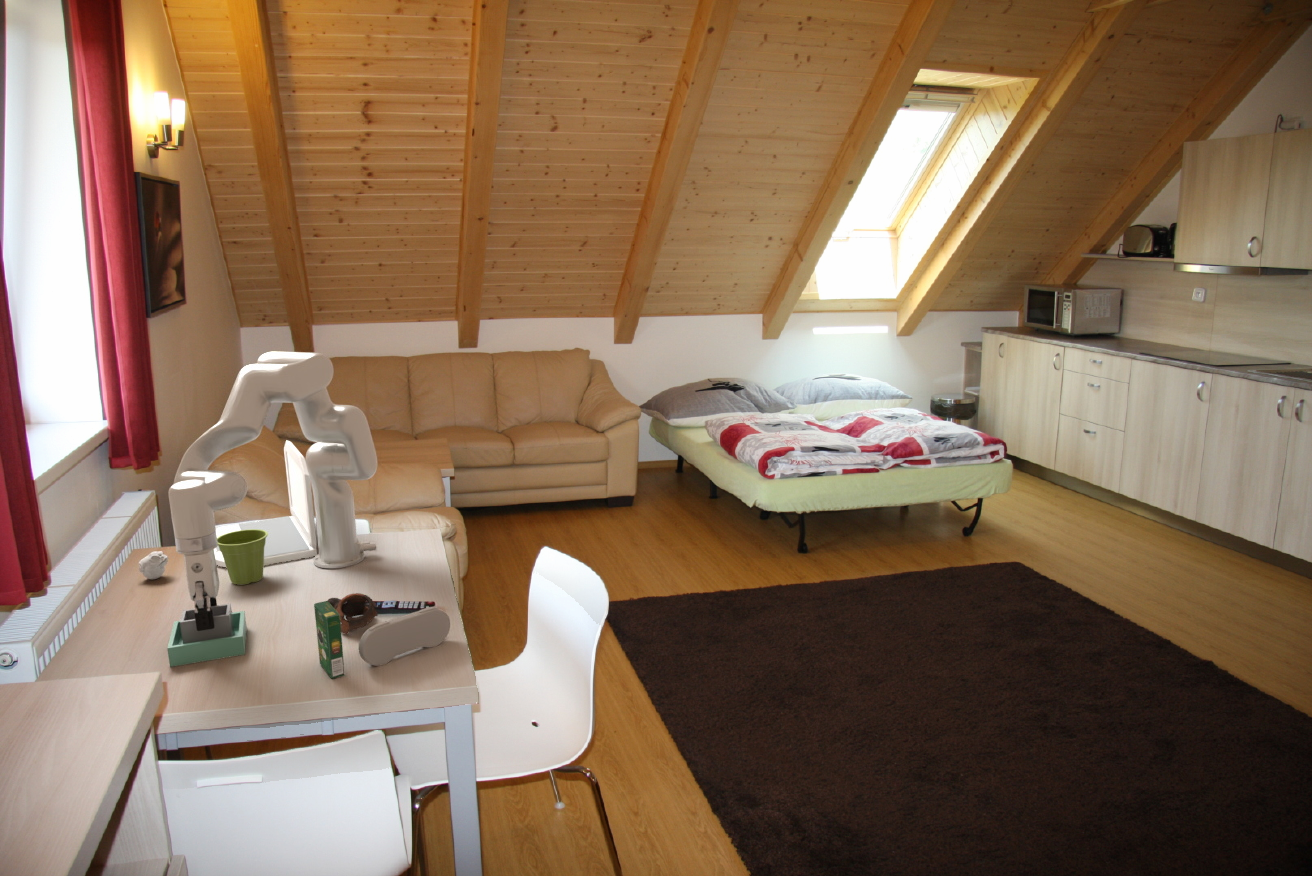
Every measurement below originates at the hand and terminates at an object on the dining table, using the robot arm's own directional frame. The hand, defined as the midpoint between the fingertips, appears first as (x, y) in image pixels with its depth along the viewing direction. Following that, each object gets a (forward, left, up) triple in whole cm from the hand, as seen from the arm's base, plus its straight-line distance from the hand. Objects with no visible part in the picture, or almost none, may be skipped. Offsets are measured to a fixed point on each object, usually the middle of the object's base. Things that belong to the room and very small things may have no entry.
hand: (207, 619), depth 189 cm
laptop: (-8, -62, -6) cm, 63 cm away
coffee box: (-23, +21, -6) cm, 32 cm away
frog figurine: (+15, -47, -6) cm, 50 cm away
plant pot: (-6, -37, -6) cm, 38 cm away
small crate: (0, 0, -5) cm, 5 cm away
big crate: (0, 0, -6) cm, 6 cm away
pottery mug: (-28, +1, -6) cm, 29 cm away
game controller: (-37, +20, -6) cm, 43 cm away
